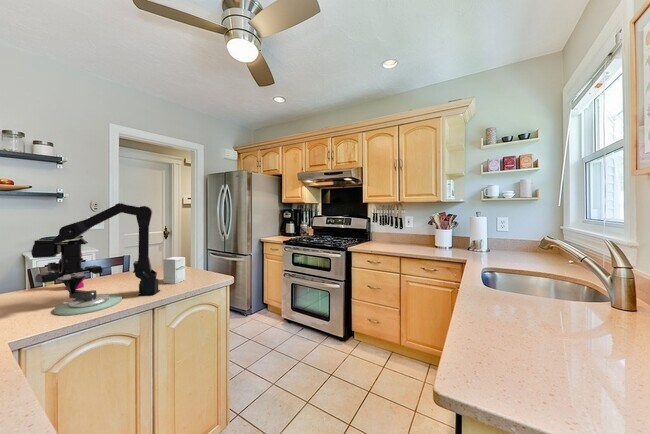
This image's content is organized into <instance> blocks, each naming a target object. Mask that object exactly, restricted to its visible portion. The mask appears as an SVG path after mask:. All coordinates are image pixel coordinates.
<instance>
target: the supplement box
mask: <svg viewBox="0 0 650 434" xmlns="http://www.w3.org/2000/svg"><path fill="white" fill-rule="evenodd" d="M162 261H163V271H162V272H163V274H162V275H163V283H164V284H171V285H176V284H178V283H181V282H184V281H186V257H185V256H172V257H167V258H163V260H162ZM183 280H184V281H183Z"/></svg>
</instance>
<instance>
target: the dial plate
mask: <svg viewBox="0 0 650 434" xmlns="http://www.w3.org/2000/svg"><path fill="white" fill-rule="evenodd" d="M106 294H107V295H109V300H108V301H106V302H103V303H100V304H97V305H93V306H88V307H80V308H72V307H69V302H70V301H72V300H73V299H71V300H68V301H65V302H62V303H60V304H58V305H57V306H55V307H54V308H53V314H55V315H57V316H63V317H64V316H78V315H84V314H85V315H86V314H91V313H95V312H99V311H102V310H105V309H109V308H112V307H114V306H116V305H117V304H120V303H121V302H122V298H123V297H122V295H120V294H116V293H106Z"/></svg>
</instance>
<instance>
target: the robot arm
mask: <svg viewBox="0 0 650 434" xmlns="http://www.w3.org/2000/svg"><path fill="white" fill-rule="evenodd" d="M121 213H123V214H127V215H131V216H135V217H136V221H137V222H136V223H137V225H138V257H137V258H138V259H137V260H135V261H134V262H133V272H132V273H133V274H134V275H135V278H137V279H139V280H140V281H139V283H138V294H137V296H139V297H140V296H142V297H143V296H144V297H145V296H146V297H147V296H154V295H156V294H158V293H159V292H161V289H159V278H157V277H158V275H157V274H158V272H157V271H155V270H154V269H152V264H151V261H150V260H151V259H150V255H149V254H150V253H149V251H150V249H149V248H150V246H149V245H150V243H149V242H150V224H151V220H152V215H153V210H152V208H150V207H149V206H146V205H143V206H135V205H130V204H125V203H121V202H120V203H116V204H115V205H113V206H111V207H109V208H107V209H105V210H102V211H100V212H98V213H96V214H94V215H91V216H90V217H88V218H85V219H82V220H79V221H77V222H73V223H69V224H67V225H64V226H62V227H60V228H59V230H58V235H56V237H54V239H47V240H45V239H37V240H34V241H33V243H34V244H33V245H32V248H31V252H30V253H31V257H32V258H33V259H43V258H55V257H57V255H60V258H59V259H58V263H56V262H55V261H54V262H49V263H47V271H48V272H43V273H37V274H36V275H35V278H34V279H35V281H34V282H35V283H36V282H37V283H40V284H43V283H44V284H45V283H53V282H55V281H59V282H62V283H63V284H64V286H65V289H66V288H67V291H68V294H69V293H70V295H73V294H74V292H75V290H77V289H76V288H77V286H78V285H79V283H80V282H81V281H82V279H83V278H85V279H86V275H85V274H91V273H92V274H93V275H98V274H102V273H104V272H103V271H104V269H103V267H102V266H101V265H95V264H94V265H90V266H89V265H88V266H85V267H82V261H84V258H83V257H81V252H82V245H87V244H88V243H89V241H87V240H85V239H84V238H82V237H81V236H82V235H84V234H85V233H87V232H88V231H89V230H91V229H92V228H93V227H95V226H97V225H100V224H101V223H104V222H105V221H107V220H110V219H112V218H113V217H115V216H117V215H119V214H121ZM79 237H81V238H80V239H78V240H77V238H79ZM74 239H76V240H74ZM65 241H68V242H65ZM82 282H83V281H82Z"/></svg>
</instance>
